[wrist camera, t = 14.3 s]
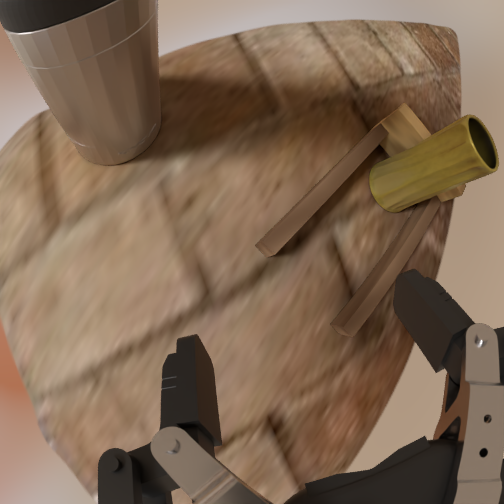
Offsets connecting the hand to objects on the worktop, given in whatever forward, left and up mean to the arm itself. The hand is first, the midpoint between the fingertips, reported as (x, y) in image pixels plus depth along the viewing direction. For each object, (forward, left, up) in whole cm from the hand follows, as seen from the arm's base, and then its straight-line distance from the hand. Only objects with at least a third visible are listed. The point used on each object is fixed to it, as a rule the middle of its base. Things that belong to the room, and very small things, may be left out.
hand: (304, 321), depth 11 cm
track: (+4, +16, -15) cm, 22 cm away
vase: (+4, +21, -15) cm, 26 cm away
